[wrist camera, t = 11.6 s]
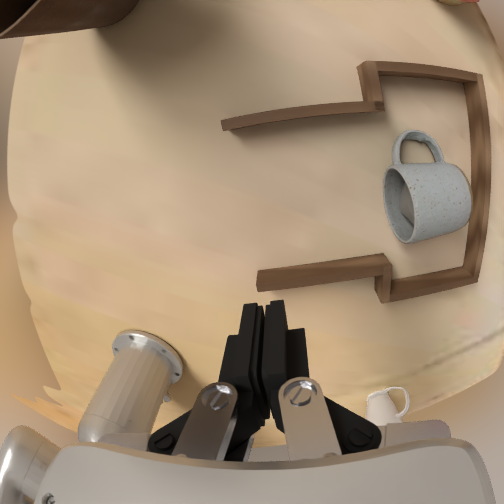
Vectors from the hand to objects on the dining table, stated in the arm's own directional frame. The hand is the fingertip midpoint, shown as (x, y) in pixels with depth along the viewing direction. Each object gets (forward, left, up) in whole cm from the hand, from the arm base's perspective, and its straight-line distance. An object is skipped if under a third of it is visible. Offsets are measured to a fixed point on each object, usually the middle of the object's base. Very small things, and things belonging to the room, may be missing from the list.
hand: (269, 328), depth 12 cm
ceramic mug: (+1, -16, -19) cm, 25 cm away
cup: (-37, -15, -19) cm, 44 cm away
